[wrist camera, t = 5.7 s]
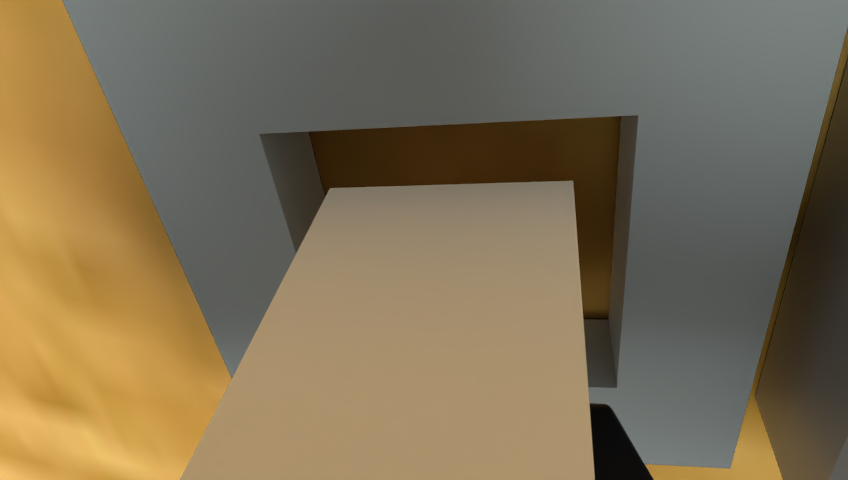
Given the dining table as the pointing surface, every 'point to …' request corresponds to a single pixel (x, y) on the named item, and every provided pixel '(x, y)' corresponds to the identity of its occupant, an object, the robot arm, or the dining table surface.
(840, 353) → the raised dock
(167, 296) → the dining table surface
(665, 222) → the low dock
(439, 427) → the plug
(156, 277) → the dining table surface
